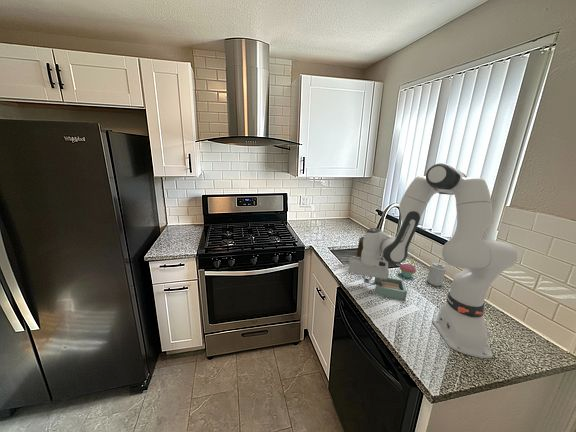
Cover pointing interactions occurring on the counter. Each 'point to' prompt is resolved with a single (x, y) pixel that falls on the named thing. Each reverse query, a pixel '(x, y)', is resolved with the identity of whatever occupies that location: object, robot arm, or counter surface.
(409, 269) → the cupcake
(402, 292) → the tray
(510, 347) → the counter surface
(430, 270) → the grey lidded jar
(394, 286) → the brown block
